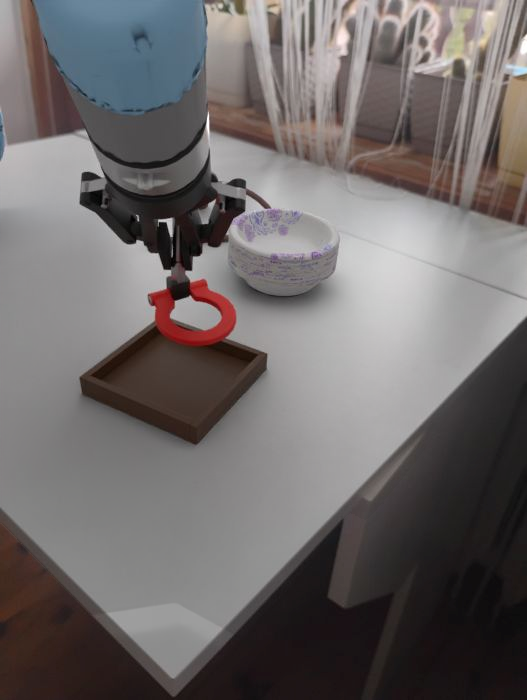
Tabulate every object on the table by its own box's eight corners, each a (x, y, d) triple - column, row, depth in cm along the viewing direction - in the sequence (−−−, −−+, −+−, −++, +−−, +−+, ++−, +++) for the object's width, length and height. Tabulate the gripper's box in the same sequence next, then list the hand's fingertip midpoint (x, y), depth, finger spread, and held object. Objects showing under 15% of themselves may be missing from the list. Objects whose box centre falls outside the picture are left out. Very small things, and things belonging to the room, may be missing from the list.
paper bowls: (285, 321, 81) (291, 266, 76) (204, 278, 89) (205, 226, 84) (354, 282, 90) (362, 232, 86) (275, 247, 98) (279, 198, 94)
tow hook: (250, 334, 65) (209, 284, 71) (261, 228, 56) (213, 180, 62) (176, 359, 62) (139, 303, 67) (175, 250, 53) (133, 196, 58)
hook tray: (81, 393, 67) (79, 376, 65) (162, 330, 77) (162, 314, 76) (196, 444, 62) (196, 427, 60) (266, 369, 72) (267, 353, 71)
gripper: (38, 195, 41) (105, 290, 64) (260, 205, 42) (247, 295, 65) (47, 89, 42) (110, 220, 65) (263, 101, 43) (249, 226, 66)
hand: (178, 257), depth 65 cm, fingers closed on tow hook, 1 cm apart
